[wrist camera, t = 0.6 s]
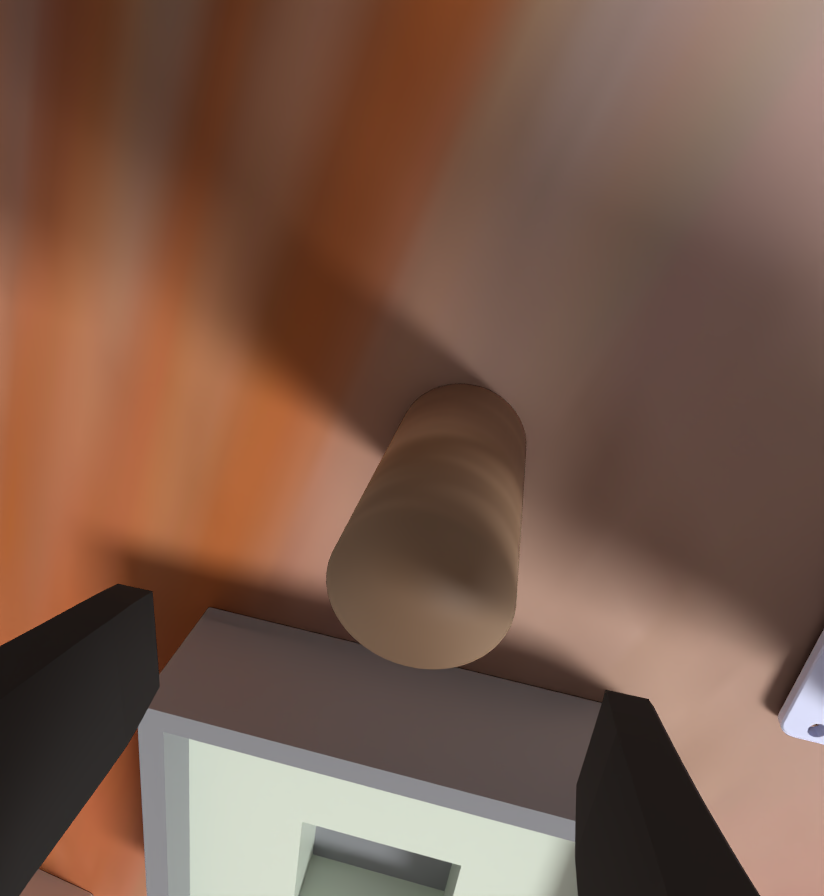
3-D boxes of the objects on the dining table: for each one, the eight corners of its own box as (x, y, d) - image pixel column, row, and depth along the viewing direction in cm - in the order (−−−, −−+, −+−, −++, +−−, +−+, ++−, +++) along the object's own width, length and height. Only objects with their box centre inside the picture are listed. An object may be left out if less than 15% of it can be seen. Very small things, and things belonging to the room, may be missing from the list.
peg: (539, 397, 18) (536, 535, 11) (511, 512, 19) (495, 687, 13) (408, 371, 18) (335, 490, 12) (391, 486, 20) (318, 644, 13)
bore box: (646, 714, 21) (670, 846, 17) (536, 982, 28) (534, 1121, 24) (208, 606, 23) (136, 704, 19) (205, 886, 30) (152, 1002, 26)
